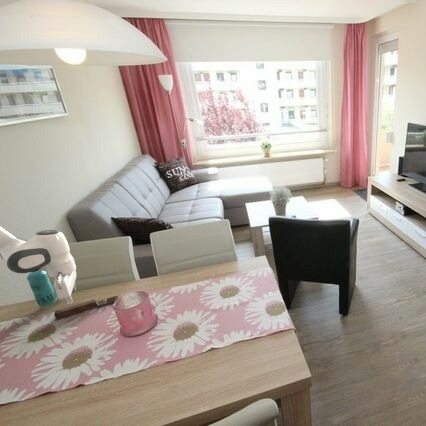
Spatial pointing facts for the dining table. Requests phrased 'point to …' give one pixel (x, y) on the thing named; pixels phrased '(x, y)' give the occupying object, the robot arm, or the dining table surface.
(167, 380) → the dining table surface
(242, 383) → the dining table surface
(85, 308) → the brown long bar
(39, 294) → the beverage bottle
